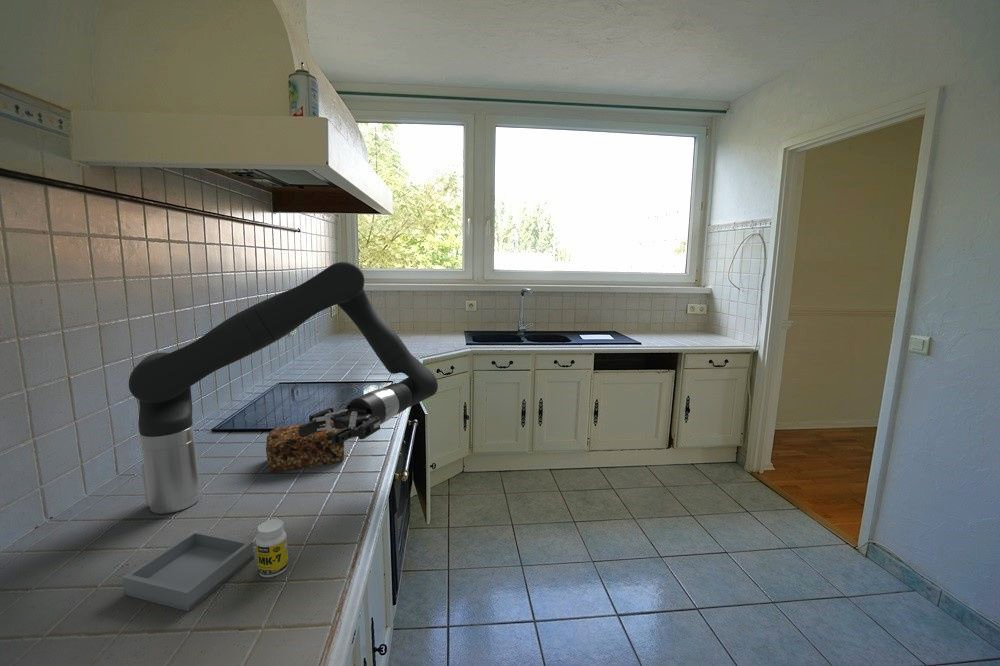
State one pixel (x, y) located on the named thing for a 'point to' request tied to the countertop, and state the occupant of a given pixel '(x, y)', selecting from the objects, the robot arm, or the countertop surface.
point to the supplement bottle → (271, 548)
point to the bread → (301, 448)
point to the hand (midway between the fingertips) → (316, 436)
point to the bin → (188, 570)
